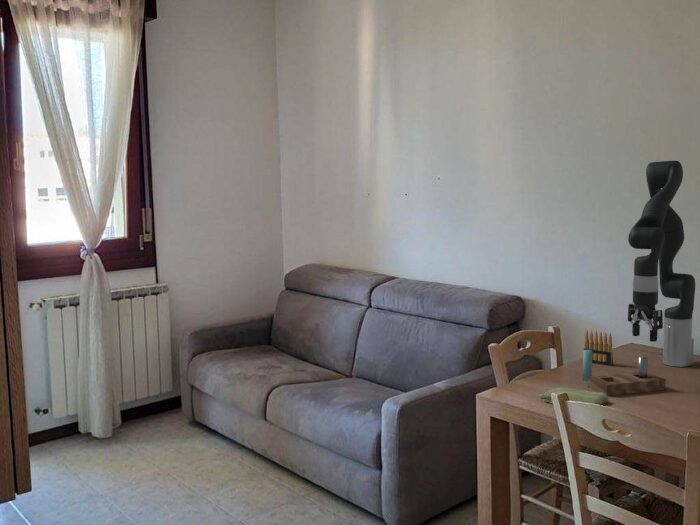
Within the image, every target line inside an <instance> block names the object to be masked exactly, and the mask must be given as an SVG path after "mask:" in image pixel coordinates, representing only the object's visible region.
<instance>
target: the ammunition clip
mask: <svg viewBox="0 0 700 525" xmlns="http://www.w3.org/2000/svg"><path fill="white" fill-rule="evenodd" d="M607 335H608V336H607ZM612 340H613V337H612V334H611V332H610V333H609V334H607V332H606V331H605V332H604V334H603V333H602V331H600V332H599V335H598V331H597V330H596V331H595V332H594V333H593V330H590V332H589V331H588V330H587V329H586V330H585V334H584V341H583V343H584V344H583V350H592V364H593V365H594V364H595V365H603V366H607V367H611V366H613V365H614V359H613V358H614V357H613V356H614V355H613V353H614V352H613V341H612Z"/></svg>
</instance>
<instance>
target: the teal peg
mask: <svg viewBox="0 0 700 525" xmlns="http://www.w3.org/2000/svg"><path fill="white" fill-rule="evenodd" d="M592 376H593V363H592V350H584V349H583V350H582V381H586V382H588V380H589V377H592Z"/></svg>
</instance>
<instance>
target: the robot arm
mask: <svg viewBox="0 0 700 525" xmlns="http://www.w3.org/2000/svg"><path fill="white" fill-rule="evenodd" d="M645 176H646V183H647V188H648V194H649V197H650V199H649V200H647V201H646V203H645V205H644V207H643V208H642V209H643V210H642V212H641V216H640V218H639V219H638V220H637V221H636V222H635V224H634V225H633V227H632V228H631V229H630V231H629V234H628V237H627V238H628V239H627V240H628V243H629V246H630V247H631V248H633V249H637V250H650V251H649V254H647V255H641V256H638V257H635V259H634V260H633V261H634V264H633V265H634V266H633V279H632V280H633V281H632V303H628V308H627V309H628V311H627V322H630V324H631V325H632V331H631V332H632V336H633V337H639V336H641V333H640V332H641V325H640V323H641V321H643V322H645V324H646V325H647V326H648V327H649V342H651V343H654V342H655V343H656V342H657V341H658V331H659V330H663V348H662V349H663V352H662V364H664V365H666V366H669V367H670V366H671V367H681V368H683V367H684V368H685V367H689V366H691V365H694V350H695V349H694V346H695V344H694V343H695V342H694V341H695V340H694V338H692V334H693V332H692V331H693V314H694V307H695V294H696V279H695V277H694V275H692V274H690V273H689V274H688V273H679V272H674V270H673V265H674V260H675V258H676V256H677V254H678V253H679V250H680V249H681V248H682V246H683V244H684V242H685V233H684V232H685V230H684V223H683V220H682V218H681V217H680V215H679V214H678V213H677V212H676V210H675V209H674V208H673V207H671V202H672V201H673V200H674V198H675V196H676V194H677V192H678V190H679V188H680V186H681V184H682V182H683V178H684V170H683V165H682V163H681V162H680V161H678V160H661V161H653V162H649V163H648V165H647V166H646V172H645ZM658 273H659V274H658ZM658 275H659V277H658ZM658 278H659V279H658ZM659 288H660V291H661V292H660V293H661V294H662V296H663V297H664V298H667V299H668V298H669V299H674V300H675V299H676V300H679V303H678V304H677V305H675V306H671V307H666V308H665V309H664V314H663V310H662V309H658V310H657V309H656V305H658V303H659ZM663 315H664V316H663ZM663 317H664V319H663Z"/></svg>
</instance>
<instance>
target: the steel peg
mask: <svg viewBox="0 0 700 525" xmlns="http://www.w3.org/2000/svg"><path fill="white" fill-rule="evenodd" d="M637 372H638V378H641V379H644V378H647V377H648V373H649V357H648V356H647V355H638V356H637Z"/></svg>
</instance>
